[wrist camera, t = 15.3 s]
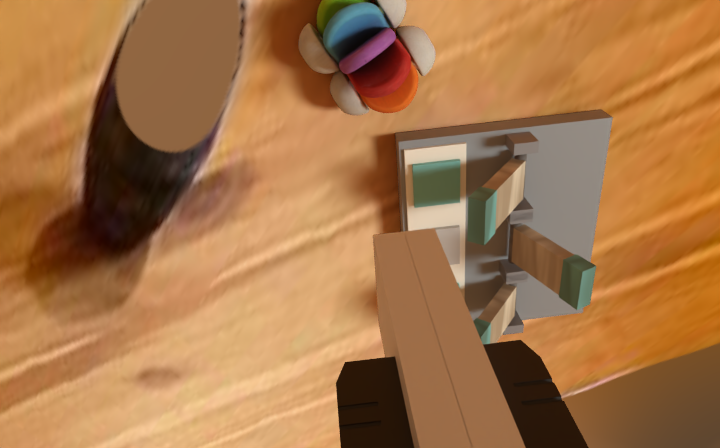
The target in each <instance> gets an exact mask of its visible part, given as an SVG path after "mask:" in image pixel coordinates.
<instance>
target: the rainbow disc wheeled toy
mask: <svg viewBox="0 0 720 448" xmlns="http://www.w3.org/2000/svg"><path fill="white" fill-rule="evenodd" d="M374 1H375V2H376V4H377V5H378V7H377V6H376V5H374V4H372V3H371V1H370V0H322V1H321V3H320V5H319V8H318V11H317V24H316V26H317V29H318V31H317V30H316V29H315V28H314V27H313V25H311V24H310V23H308V24H306V26H305V27H304V28H303V30H302V31H301V34H300V37H299V43H298V45H299V51H300V53H301V55H302V57H303V58H304V60H305V61H306V63H307V64H308V65H309V67H310V68H311V69H312V70H314V71H316V72H319V73H323V74H329V73H334V72H335V74H334V75H333V77H332V80H331V83H330V93H331V95H332V97H333V99H334V100H335V102H336V103H337V105H338V106H339V108H340V109H341V110H342V111H343V112H344V113H347V114H350V115H363V114H365V113H368V112H369V108H368V107H370V108H371V109H373V110H375V111H378V112H382V113H393V112H398V111H401V110H403V109H405V108H406V107H407V106H408V105H409V104H410V103H411V101H412V100H413V98H414V96H415V94H416V91H417V88H418V74H417V70H418V71H419V73H420V74H421V75H422V76H425V75H426V74H427V73H428V72H429V71H430V69H431V68H432V66H433V64H434V61H435V55H436V53H435V49H434V47H433V44H432V43H431V41H430V39H429V38H428V36H427V34H426V33H425V31H424V30H423V29H421V28H419V27H415V26H403V27H400V28H397V27H398V26H399V24H400V23H401V22H402V20H403V18H404V15H405V12H406V0H374ZM389 27H392V28H397V30H396V33H397V36H398V38H399V39H397V38H396V34H395V32H394V31H393V30H392V29H390V28H389ZM416 69H417V70H416Z"/></svg>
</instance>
